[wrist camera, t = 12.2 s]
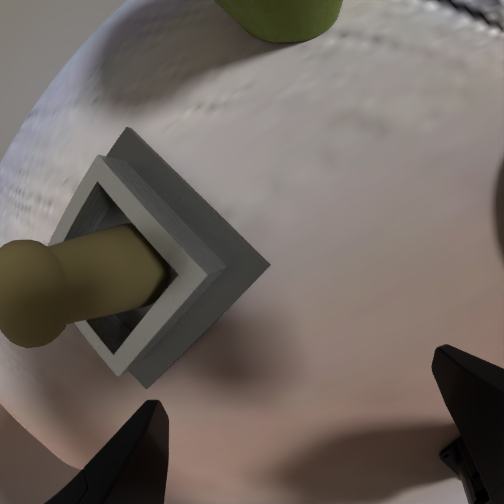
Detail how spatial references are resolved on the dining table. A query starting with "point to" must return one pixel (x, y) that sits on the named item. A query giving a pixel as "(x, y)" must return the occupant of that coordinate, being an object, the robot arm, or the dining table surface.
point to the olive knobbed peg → (75, 281)
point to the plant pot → (283, 17)
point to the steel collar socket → (170, 248)
